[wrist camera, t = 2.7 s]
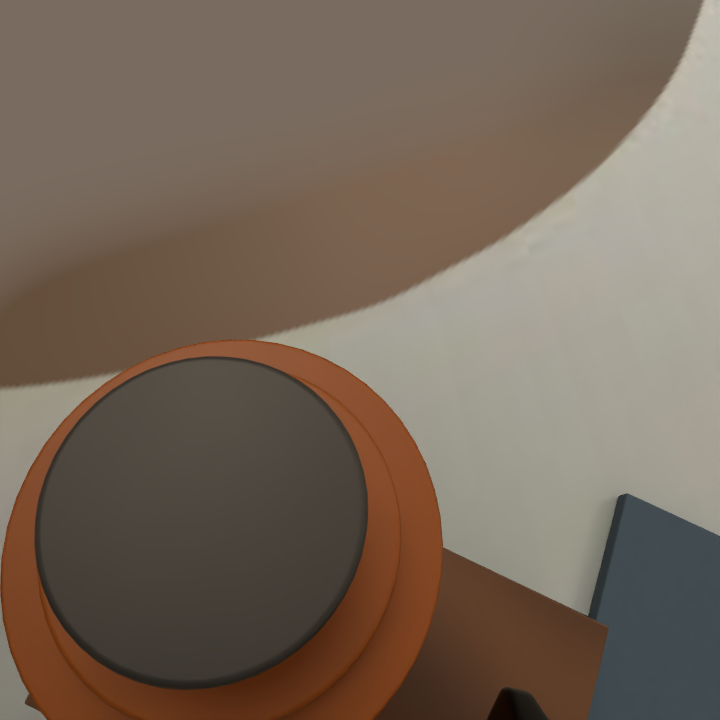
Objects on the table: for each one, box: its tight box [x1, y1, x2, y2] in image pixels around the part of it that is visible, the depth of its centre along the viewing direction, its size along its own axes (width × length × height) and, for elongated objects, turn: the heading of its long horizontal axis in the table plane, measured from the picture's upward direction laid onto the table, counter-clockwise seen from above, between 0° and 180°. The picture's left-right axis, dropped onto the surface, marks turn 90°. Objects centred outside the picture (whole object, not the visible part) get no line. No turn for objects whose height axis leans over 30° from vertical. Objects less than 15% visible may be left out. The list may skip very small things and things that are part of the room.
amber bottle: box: [0, 340, 443, 720], centre depth 10 cm, size 6×6×11 cm
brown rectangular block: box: [25, 548, 609, 720], centre depth 16 cm, size 8×13×4 cm, turn 66°
